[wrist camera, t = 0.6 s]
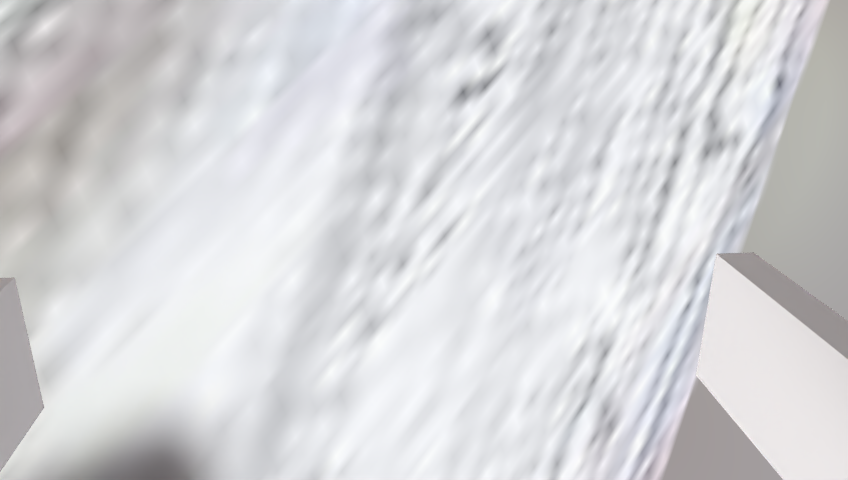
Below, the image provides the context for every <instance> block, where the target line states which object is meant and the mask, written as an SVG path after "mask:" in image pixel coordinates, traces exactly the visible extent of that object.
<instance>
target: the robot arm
mask: <svg viewBox="0 0 848 480" xmlns="http://www.w3.org/2000/svg"><path fill="white" fill-rule="evenodd" d="M696 376H697V377H698V378H699V379H700V380H701V382H702V383H703V384H704V385H705V386H706V387H707V389H708V390H709V391H710V392H711V394H712V395H713V396H714V397H715V398H716V400H718V402H719V403H720V404H721V406H722V407H723V408H724V409H725V410H726V412H727V413H728V414H729V415H730V416H731V418H732V419H733V420H734V421H735V422H736V424H737V425H738V426H739V427H740V428H741V430H742V431H743V432H744V433H745V434H746V435H747V437H748V438H749V439H750V440H751V441H752V443H753V444H754V445H755V446H756V447H757V449H758V450H759V451H760V452H761V453H762V455H763V456H764V457H765V458H766V460H767V461H768V462H769V463H770V464H771V466H772V467H773V468H774V469H775V470H776V472H777V473H778V474H779V475H780V476H781V477H782V479H783V480H848V321H847V320H846V319H844V318H843V317H842V316H840V315H839V314H838V313H836V312H835V311H833V310H832V309H831V308H829V307H828V306H827V305H825V304H824V303H822V302H821V301H820V300H818V299H817V298H816V297H814V296H813V295H811V294H810V293H809V292H807V291H805V290H804V289H803V288H802V287H800V286H799V285H798V284H796V283H795V282H793V281H792V280H791V279H789V278H788V277H787V276H785V275H784V274H782V273H781V272H780V271H778V270H777V269H776V268H774V267H773V266H771V265H770V264H768V263H767V262H766V261H765V260H763V259H762V258H760V257H759V256H758V255H756V254H755V253H727V254H716V259H715V265H714V271H713V277H712V283H711V289H710V295H709V301H708V307H707V313H706V319H705V325H704V331H703V337H702V343H701V349H700V355H699V361H698V367H697V373H696ZM43 408H44V405H43V401H42V396H41V392H40V387H39V383H38V379H37V374H36V370H35V365H34V361H33V356H32V352H31V347H30V343H29V339H28V334H27V330H26V325H25V321H24V316H23V312H22V307H21V303H20V299H19V294H18V290H17V285H16V281H15V278H0V471H1V470H2V468H3V467H4V465H5V464H6V463H7V461H8V460H9V458H10V457H11V455H12V454H13V452H14V451H15V449H16V448H17V446H18V445H19V444H20V442H21V441H22V439H23V438H24V436H25V435H26V433H27V432H28V430H29V429H30V427H31V426H32V424H33V423H34V422H35V420H36V419H37V417H38V416H39V414H40V413H41V411H42V410H43Z"/></svg>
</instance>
